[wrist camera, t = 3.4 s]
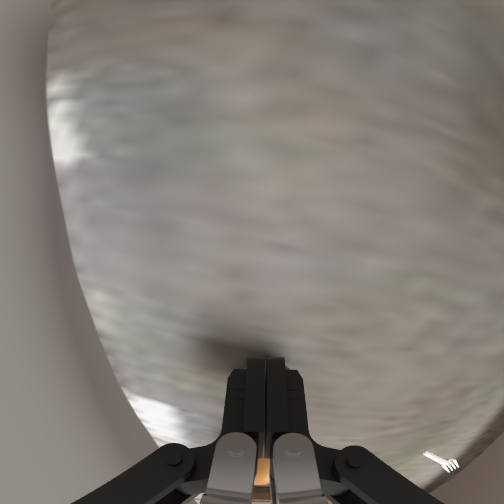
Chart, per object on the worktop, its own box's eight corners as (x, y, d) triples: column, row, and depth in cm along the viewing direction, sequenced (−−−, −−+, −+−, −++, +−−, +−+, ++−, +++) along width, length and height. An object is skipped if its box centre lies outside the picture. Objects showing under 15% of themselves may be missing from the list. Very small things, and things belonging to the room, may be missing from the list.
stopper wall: (214, 483, 38) (212, 496, 36) (299, 486, 37) (300, 499, 35) (215, 486, 39) (213, 498, 37) (298, 489, 38) (298, 501, 36)
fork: (432, 444, 32) (434, 453, 31) (458, 459, 38) (460, 466, 36) (414, 453, 34) (416, 463, 32) (445, 467, 39) (447, 473, 37)
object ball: (243, 429, 28) (239, 473, 23) (291, 436, 29) (292, 478, 24) (232, 448, 31) (228, 486, 26) (275, 454, 31) (274, 492, 26)
